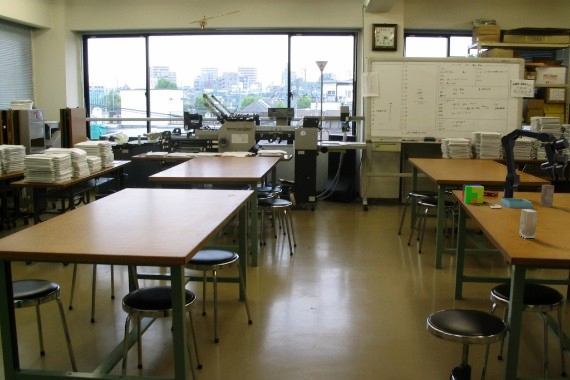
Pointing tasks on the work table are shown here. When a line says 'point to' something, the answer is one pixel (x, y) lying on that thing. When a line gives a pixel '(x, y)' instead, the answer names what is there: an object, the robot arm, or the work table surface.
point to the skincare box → (528, 223)
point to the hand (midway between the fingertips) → (557, 179)
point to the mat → (515, 208)
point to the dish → (516, 203)
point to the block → (547, 195)
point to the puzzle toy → (472, 194)
